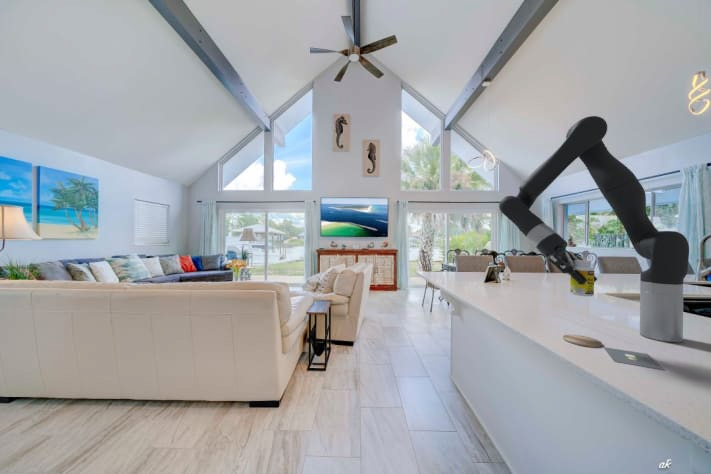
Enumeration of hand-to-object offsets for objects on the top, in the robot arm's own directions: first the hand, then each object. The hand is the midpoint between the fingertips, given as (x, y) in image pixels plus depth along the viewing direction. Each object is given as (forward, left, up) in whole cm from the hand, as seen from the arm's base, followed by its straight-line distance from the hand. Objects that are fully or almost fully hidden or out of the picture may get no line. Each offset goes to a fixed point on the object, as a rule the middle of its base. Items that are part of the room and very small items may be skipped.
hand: (589, 282), depth 84 cm
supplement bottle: (-1, -2, -4) cm, 5 cm away
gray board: (+7, +8, -18) cm, 21 cm away
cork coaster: (-1, -1, -18) cm, 18 cm away
